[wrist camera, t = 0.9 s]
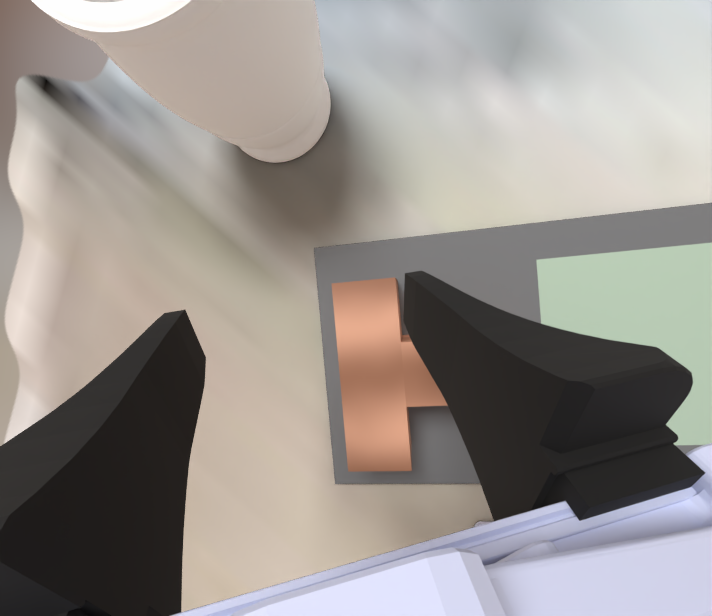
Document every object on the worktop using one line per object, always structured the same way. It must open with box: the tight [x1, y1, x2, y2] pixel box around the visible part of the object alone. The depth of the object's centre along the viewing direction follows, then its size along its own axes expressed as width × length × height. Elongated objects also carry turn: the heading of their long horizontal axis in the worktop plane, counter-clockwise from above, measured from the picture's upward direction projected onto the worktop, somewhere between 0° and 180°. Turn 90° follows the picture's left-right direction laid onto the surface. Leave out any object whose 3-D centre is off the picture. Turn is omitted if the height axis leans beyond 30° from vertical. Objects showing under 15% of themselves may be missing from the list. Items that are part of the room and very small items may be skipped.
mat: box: [314, 203, 712, 484], centre depth 24 cm, size 18×30×1 cm, turn 95°
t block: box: [332, 277, 447, 472], centre depth 23 cm, size 12×12×4 cm
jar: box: [32, 0, 331, 163], centre depth 19 cm, size 11×10×15 cm
